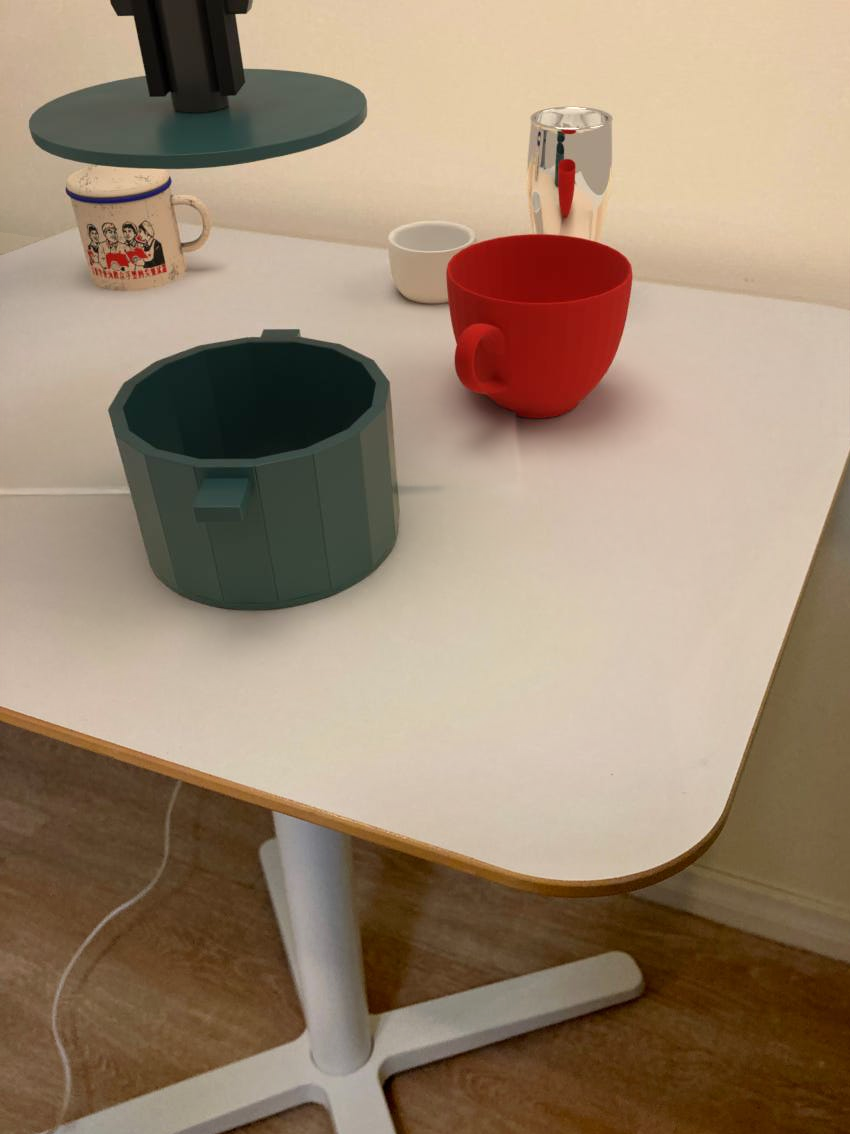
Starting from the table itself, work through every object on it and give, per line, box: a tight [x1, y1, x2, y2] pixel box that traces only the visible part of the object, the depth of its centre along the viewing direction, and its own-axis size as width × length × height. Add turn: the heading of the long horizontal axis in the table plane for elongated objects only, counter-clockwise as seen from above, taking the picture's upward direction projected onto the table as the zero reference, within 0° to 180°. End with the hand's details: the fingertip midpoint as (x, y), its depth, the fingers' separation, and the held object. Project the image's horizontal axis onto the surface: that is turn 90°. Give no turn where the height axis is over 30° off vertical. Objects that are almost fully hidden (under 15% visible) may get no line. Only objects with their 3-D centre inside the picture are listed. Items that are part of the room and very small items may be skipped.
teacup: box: [387, 220, 478, 305], centre depth 92 cm, size 10×8×5 cm
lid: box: [28, 0, 368, 170], centre depth 50 cm, size 17×17×10 cm
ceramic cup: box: [446, 233, 633, 419], centre depth 74 cm, size 13×17×10 cm
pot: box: [107, 328, 400, 611], centre depth 62 cm, size 16×21×10 cm
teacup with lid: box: [65, 164, 212, 292], centre depth 94 cm, size 12×9×12 cm
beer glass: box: [526, 106, 614, 243], centre depth 87 cm, size 7×7×15 cm
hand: (198, 88), depth 52 cm, fingers closed on lid, 3 cm apart
